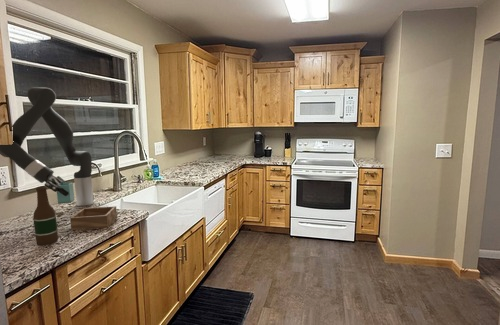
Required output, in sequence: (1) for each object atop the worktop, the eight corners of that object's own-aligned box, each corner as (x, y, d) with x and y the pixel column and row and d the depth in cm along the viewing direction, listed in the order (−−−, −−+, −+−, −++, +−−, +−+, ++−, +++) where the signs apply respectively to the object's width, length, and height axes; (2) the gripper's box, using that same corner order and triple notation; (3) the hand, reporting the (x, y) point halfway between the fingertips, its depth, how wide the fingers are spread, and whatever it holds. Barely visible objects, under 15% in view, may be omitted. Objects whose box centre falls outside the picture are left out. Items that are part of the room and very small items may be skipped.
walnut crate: (84, 219, 151) (83, 208, 151) (116, 217, 154) (116, 206, 153) (71, 230, 136) (70, 218, 135) (107, 227, 138) (106, 215, 138)
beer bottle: (62, 238, 126) (56, 184, 123) (51, 245, 119) (44, 188, 115) (44, 238, 126) (38, 184, 123) (31, 246, 118) (24, 189, 115)
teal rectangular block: (62, 200, 147) (60, 183, 146) (74, 199, 149) (72, 182, 147) (58, 203, 142) (55, 185, 140) (70, 202, 143) (68, 185, 142)
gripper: (38, 167, 134) (70, 191, 138) (50, 163, 147) (79, 184, 152) (26, 179, 133) (58, 202, 138) (40, 174, 147) (69, 195, 152)
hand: (69, 193), depth 145 cm, fingers closed on teal rectangular block, 5 cm apart
